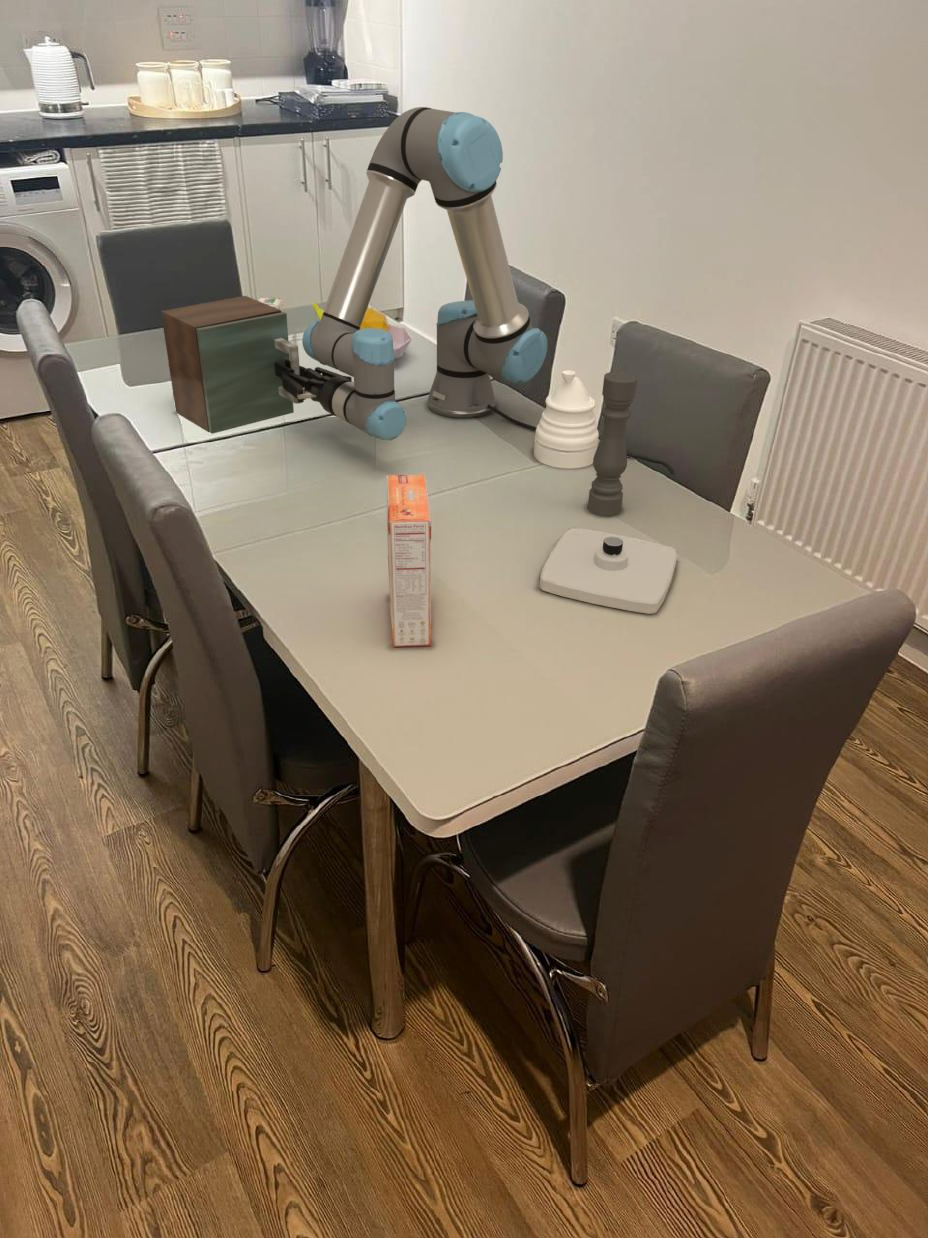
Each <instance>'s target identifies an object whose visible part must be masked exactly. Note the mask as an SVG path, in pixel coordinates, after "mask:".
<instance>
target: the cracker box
mask: <svg viewBox="0 0 928 1238" xmlns="http://www.w3.org/2000/svg"><path fill="white" fill-rule="evenodd" d="M429 501H430V500H429V493H428V487H427V478H426V474H406V475H405V474H391V475H386V529H387V530H386V535H387V536H386V537H387V565H388V569H387V570H388V592H389V594H388V595H389V611H390V612H389V613H390V624H391V625H390V627H391V639H392V647H394V648H398V647H399V648H400V647H427V646H429V647H430V646H432V518H431V510H430V509H431V508H430V502H429Z"/></svg>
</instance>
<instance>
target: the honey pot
mask: <svg viewBox="0 0 928 1238" xmlns="http://www.w3.org/2000/svg"><path fill="white" fill-rule="evenodd" d="M561 376H562V380H561V381H560V382H559V384H557V386H556V387H555V389H554V391H553V393H551V394H549V395H548V396H547V397H546V398H545V401H544V402H545V405H546V407H545V408H544V410H543V411H542V413H541V417H540V419H539V423H538V424H537V425H536V427H537V428H536V431H535V430H534V431H535V434H534V435H535V436H534V445H533V456H534V458H535V459H536V460H537V461H538V462H540V463H542V464H543V465H546V466H549V467H552V468H557V469H567V470H568V469H572V470H573V469H581V468H585V467H589V466H590V465H593V458H594V455H595V452H596V450H597V447H598V444H599V436H600V434H599V430H598V428H597V427H598V425H597V422H596V415H595V414H594V413H595V412H594V409H595V408H596V404H597V402H596V400H595V399H594V398H593V397H591V396H590V395H589V393H588V390H587V389H586V387H585V385H584V383H583V382H582V380H581V379H580V378H579V377H577V376H576V372H575V371H574V370H569V369H565V370H563V371H562V372H561Z"/></svg>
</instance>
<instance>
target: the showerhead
mask: <svg viewBox="0 0 928 1238" xmlns="http://www.w3.org/2000/svg"><path fill="white" fill-rule="evenodd" d="M677 556H678V551H677V550H676V548H674V547H673V546H669V545H665V544H661V543H658V542H654V541H649V540H645V539H640V538H635V537H631V536H626V535H622V534H616V533H611V532H610V533H609V532H604V531H599V530H594V529H585V528H578V527H572V528H568V530H567V531H565V533H564V534H562V535H561V536H560V538H559V539H558V541H557V542H556V543H555V546H553V548H552V550H551V552H550V553H549V554H548V557H547V558H546V561H545V563H544V565H543V566H542V569H541V573H540V577H539V589H541V591H543V592H546V593H550V594H554V595H557V596H560V597H564V598H569V599H572V600H576V601H580V602H585V603H589V604H594V605H598V606H603V607H609V608H614V609H618V610H623V611H628V612H633V613H640V614H641V613H642V614H647V615H651V614H656V613H657V612H658V611H659V609H660V608H661V606H662V605H663V603H664V601H665V599H666V596H667V594H668V592H669V589H670V587H671V585H672V581H673V577H674V575H675V574H674V573H675V570H676V567H677V566H676V564H677V559H678V558H677Z"/></svg>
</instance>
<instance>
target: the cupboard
mask: <svg viewBox="0 0 928 1238" xmlns="http://www.w3.org/2000/svg"><path fill="white" fill-rule="evenodd" d="M276 313H281V310H279V309H276V308H274V307H272V306H269V305H267V304H264V303H262V302H259V301H258V300H257V299H254V298H252V297H249V296H247V295H241V296H236V297H231V298H225V299H219V300H214V301H209V302H203V303H198V304H192V305H186V306H182V307H176V308H171V309H166V310H165V309H164V310H161V311H160V314H161V320H162V327H163V328H162V329H163V334H164V341H165V349H166V355H167V361H168V368H169V375H170V382H171V389H172V396H173V402H174V408H175V413H176V414H177V415H179V416H181V417H182V418H184V419H186V420H187V421H188V422H191V423H192V424H194V425H195V426H197V427H199V428H200V429H202V430H204V431H205V432H207V433H210V432H209V425H208V418H207V410H206V402H205V394H204V387H203V379H202V371H201V363H200V355H199V348H198V340H197V332H196V329H197V328H202V327H207V326H213V325H218V324H223V323H228V322H234V321H239V320H244V319H250V318H255V317H260V316H265V315H271V314H276Z"/></svg>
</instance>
